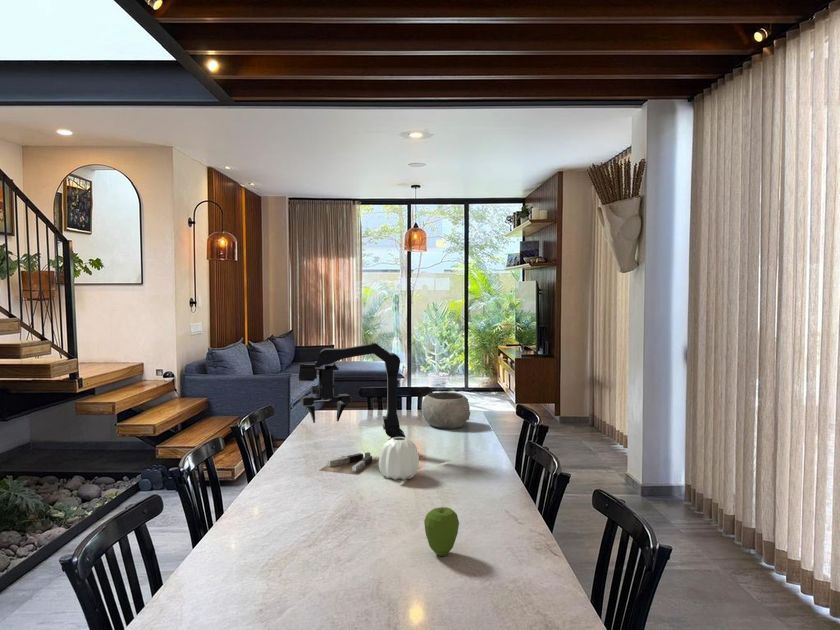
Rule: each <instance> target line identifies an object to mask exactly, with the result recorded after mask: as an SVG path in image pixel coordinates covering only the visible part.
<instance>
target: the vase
mask: <svg viewBox="0 0 840 630" xmlns="http://www.w3.org/2000/svg"><path fill="white" fill-rule="evenodd" d="M390 438H391V437H390ZM390 438H389V439H390ZM419 458H420V457H419V451H418V447H417V446H416V444H415V443H414V442H413V441H412V440H411V439H409V438H407V437H406V438H404V437H394V438H391V439H390V440H388V439H387V441H386V442H385V443H384V444H382V446H381V449H380V451H379V456H378V470H379V471H380V473H381V475H382V476H383V477H385V478H386V479H393V480H396V481H397V480H402V481H404V480H405V481H406V480H411V479H412V478H413V477H415V475H416V474H417V473H418V471H419V466H420V459H419Z"/></svg>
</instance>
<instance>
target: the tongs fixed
mask: <svg viewBox="0 0 840 630" xmlns="http://www.w3.org/2000/svg"><path fill="white" fill-rule="evenodd" d="M372 459H373V455H371V452H368V451H367V452H364V457H363V459H362V460H361V461H360V462H358V463H357V464H355V465H354V466H352V472H354V473H356V472H358V471H359V470H360V469H362V468H363V467H365V466H367V465H368V464H370V463H371V462H372Z"/></svg>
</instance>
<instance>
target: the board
mask: <svg viewBox="0 0 840 630" xmlns="http://www.w3.org/2000/svg"><path fill="white" fill-rule="evenodd" d="M347 456H348V455H342V456H340V457H339V458H343V457H347ZM358 462H360V461H356V462H351V463H346V464H342V465H337V466H332V467H329V466H328V464H327V465H325V466H323V467H322V468H320V469H319V470H318V471H319V472H327V473H328V472H329V473H338V474H346V475H353V476H354V475H355V476H356V475H357V476H359V475H360V474H361V473H363V472H364V471H365V470H367V469H369V468H370V467H371V466H373V465H375V464H376V463H377V462H379V458H378V459H375V458H372V462H371V463H370V464H368V465H367V466H365V467H363V468H362V469H360V470H359V471H358V472H356V473H354V472H352V466H354V465H355V464H357V463H358Z"/></svg>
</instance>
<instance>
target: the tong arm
mask: <svg viewBox="0 0 840 630" xmlns="http://www.w3.org/2000/svg"><path fill="white" fill-rule="evenodd" d="M346 456H347V457H343V458H340V457H339V458H334V459H329V460H327V465H328V466H329V467H332V466H337V465H342V464H346V463H351V462H356V461H361V460H362V459H363V458H364V454H363V453H361V452H360V453H354V454H349V455H346Z"/></svg>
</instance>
